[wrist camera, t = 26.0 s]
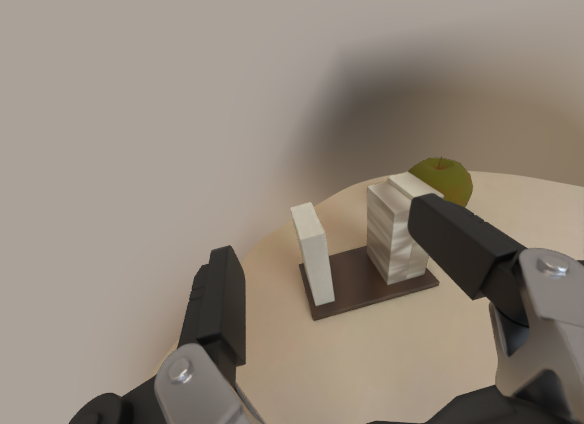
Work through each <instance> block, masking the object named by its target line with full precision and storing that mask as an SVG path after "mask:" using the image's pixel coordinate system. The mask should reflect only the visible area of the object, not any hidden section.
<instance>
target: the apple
mask: <svg viewBox="0 0 584 424" xmlns="http://www.w3.org/2000/svg"><path fill="white" fill-rule="evenodd" d="M408 172H409V173H410V174H412V175H414V176H415V177H417V178H418V179H420V180H421V181H423V182H424V183H426V184H427V185H429V186H430V187H432V188H434V189H435V190H437V191H438V192H440V193H441V194H443V195H444V198H443V199H444V200H445V201H450V202H452V203H455V204H458V205H461V206H463V207H466V205H467V203H468V201H469V199H470V196H471V194H472V191H473V184H472V180H471V176H470V174H469V173H468V172H467V170H466V169H465V168H464V167H463V166H462V165H461V164H460V163H459V162H456V161H453V160H450V159H446V158H442V157H441V158H428V159H426V160H423V161H421V162H420V163H418V164H416V165H415V166H413V167H412V168H411V169H410V170H409V171H408Z"/></svg>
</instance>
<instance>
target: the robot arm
mask: <svg viewBox="0 0 584 424" xmlns="http://www.w3.org/2000/svg"><path fill="white" fill-rule="evenodd" d="M407 228H408V232H409V234H410V236H411V237H412V238H413V239H414V240H415V241H416V242H417V243H418V245H419V246H420V247H421V248H422V249H423V250H424V251H425V252H426V253H427V254H428V255H429V256H430V257H431V258H432V259H433V260H434V261H435V262H436V263H437V264H438V265H439V266H440V267H441V268H442V269H443V270H444V271H445V272H446V274H447V275H448V276H449V277H450V278H451V279H452V280H453V281H454V282H455V283H456V284H457V285H458V286H459V287H460V288H461V289H462V290H463V291H464V292H465V293H466V294H467V295H468V296H469V297H470V298H471V299H472V300H476V299H479V298H483V297H487V298H488V299H489V300H490V301H491V302H490V303H489V312H490V317H491V323H492V328H493V333H494V339H495V344H496V350H497V355H498V368H497V371H496V378H495V385H492V386H489V387H486V388H482V389H479V390H476V391H473V392H469V393H466V394H463V395H459V396H457V397H455V398H454V399H453V400H452V401H451V402H450V403H448V404H447V405H446V406H445V407H444V408H442V409H441V410H440V411H439V412H438V413H437V414H435V415H434V416H433V417H432V418H431V419H430V420H428V421H427V422H425V423H404V422H388V421H374V422H370V423H367V424H584V260H574V259H573V258H571V257H569V256H567V255H565V254H562V253H559V252H556V251H553V250H549V249H543V248H530V249H528V248H526V247H525V246H523V245H521V244H520V243H518V242H517V241H515V240H514V239H512V238H511V237H509V236H508V235H506V234H505V233H503V232H501V231H500V230H498V229H497V228H495V227H494V226H492V225H491V224H489V223H488V222H484V220H483V219H481V218H480V217H478V216H477V215H474V213H472V212H471V211H469V210H468V209H466V208H465V207H463V206H461V205H458V204H455V203H452V202H450V201H445V200H444V199H442V198H441V197H439V196H438V195H437V194H435V193H428V194H425V195H421V196H417V197H414V198H413V199H412V200H411V205H410V211H409V217H408V223H407ZM189 300H190V301H189V302H188V306H187V310H186V315H185V319H184V323H183V327H182V332H181V336H180V340H179V343H178V347H177V349H176V350H175V351H173V352H172V353H171V354H170V355H169V356H168V357H167V358H166V360H165V361H164V362H163V364H162V365H161V367H160V369H159V371H158V373H157V374H156V375H155V376H154V377H152V378H151V379H149V380H148V381H146V382H144V383H143V384H141V385H140V386H138V387H137V388H135V389H133V390H132V391H130V392H129V393H127V394H126V395H124V396H122V397H121V396H118V395H116V394H114V393H105V394H102V395H100V396H97V397H96V398H94V399H92V400H91V401H90V402H88V403H87V404H86V405H85V406H84V407H82V408H81V409H80V410H79V412H77V414H76V415H75V416H74V417H73V418H72V419H71V421H70V422H69V424H266V423H265V421H264V420H263V419H262V417H261V416H260V415H259V413H258V412H257V410H256V409H255V408H254V406H253V405H252V404H251V402H250V401H249V399H248V398H247V397H246V395H245V394H244V392H243V391H242V390H241V388H240V387H239V386H238V384H237V383H236V382H235V381H236V367H237V366H241V365H244V364H246V295H245V275H244V271H243V269H242V266H241V264H240V262H239V260H238V258H237V256H236V254H235V253H234V250H233V248H232V247H231V246H230V245H229V246H225V247H222V248H218V249H214V250H212V251H211V254H210V260H209V264H206V265H202V266H201V268H200V269H199V271H198V272H197V274H196V275H195V277H194V281H193V285H192V291H191V294H190V298H189Z"/></svg>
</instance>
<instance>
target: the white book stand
mask: <svg viewBox="0 0 584 424" xmlns="http://www.w3.org/2000/svg"><path fill="white" fill-rule="evenodd" d="M428 193H435V194H437V195H438V196H439V197H441V198H442V199H443V198H444V195H443V194H441V193H440V192H438V191H437V190H435V189H434V188H432V187H430V186H429V185H427V184H426V183H424V182H423V181H421V180H420V179H418V178H417V177H415V176H414V175H412V174H410V173H409V172H405V173H401V174H397V175H394V176H390V177H388V181H386V182H383V183H379V184H375V185H371V186H368V187H367V246H364V247H361V248H357V249H353V250H350V251H346V252H342V253H339V254H335V255H331V256H329V263H330V270H331V277H332V284H333V291H334V299H335V301H333V302H329V303H325V304H322V305H318V306H316V305H315V302H314V299H313V295H312V292H311V288H310V285H309V281H308V278H307V274H306V271H305V267H304V263H302V264H299V267H300V271H301V275H302V279H303V282H304V286H305V290H306V294H307V297H308V301H309V305H310V309H311V312H312V316H313V320H314V321H315V320H319V319H322V318H326V317H329V316H333V315H336V314H340V313H343V312H347V311H350V310H354V309H357V308H361V307H364V306H368V305H372V304H375V303H379V302H382V301H386V300H389V299H393V298H396V297H400V296H403V295H407V294H410V293H414V292H417V291H421V290H425V289H428V288H432V287H435V286H438V285H439V281H438V280H437V279H436V278H435V276H434V275H433V274H432V273H431V272H430V271H429V270H428V269H427V267H426V266H427V262H428V258H429V255H428V254H427V253H426V252H425V251H424V250H423V249H422V248H421V247H420V246H419V245H418V243H417V242H416V241H415V240H414V239H413V238H412V237H411V236H410V234H409V232H408V228H407V223H408V217H409V211H410V205H411V200H412V199H413V198H414V197H417V196H421V195H425V194H428Z"/></svg>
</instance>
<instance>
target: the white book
mask: <svg viewBox="0 0 584 424" xmlns="http://www.w3.org/2000/svg"><path fill="white" fill-rule="evenodd" d="M290 209H291V213H292V217H293V222H294V226H295V230H296V234H297V238H298V242H299V246H300V250H301V254H302V259H303V263H304V267H305V271H306V274H307V278H308V281H309V285H310V288H311V292H312V295H313V299H314V302H315V305H316V306H318V305H322V304H325V303H329V302H333V301H335V299H334V291H333V284H332V277H331V270H330V263H329V256H328V249H327V241H326V234H325V231H324V229H323V227H322V225H321V223H320V221H319V219H318V216H317V214H316V212H315V210H314V208H313V206H312V204H311V202H309V203H306V204H302V205H298V206H295V207H291V208H290Z"/></svg>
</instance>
